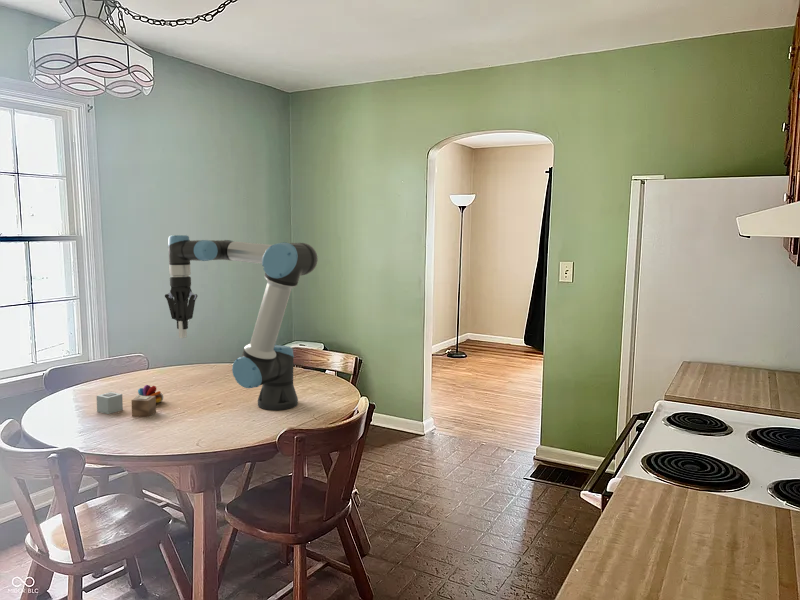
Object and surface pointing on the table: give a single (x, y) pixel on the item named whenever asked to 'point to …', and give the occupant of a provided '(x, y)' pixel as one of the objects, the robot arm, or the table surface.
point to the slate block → (109, 403)
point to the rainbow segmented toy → (150, 392)
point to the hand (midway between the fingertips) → (182, 337)
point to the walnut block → (143, 406)
